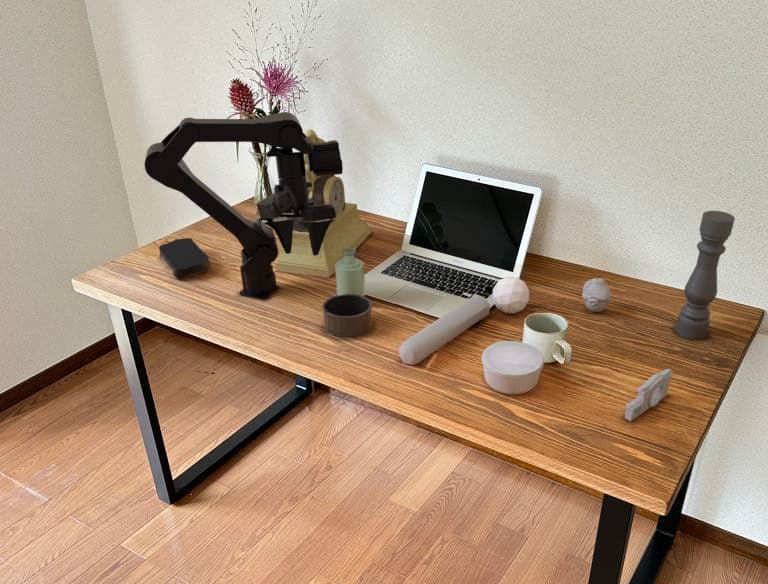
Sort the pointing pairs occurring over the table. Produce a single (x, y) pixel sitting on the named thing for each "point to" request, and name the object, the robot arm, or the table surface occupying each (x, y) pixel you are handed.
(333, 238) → the decorative clock
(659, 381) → the garden wall model
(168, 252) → the black sponge
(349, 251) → the bottle
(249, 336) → the table surface
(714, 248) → the candle holder
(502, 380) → the ramekin
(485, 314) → the tube
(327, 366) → the table surface
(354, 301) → the cup
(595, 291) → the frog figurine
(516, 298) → the ball
